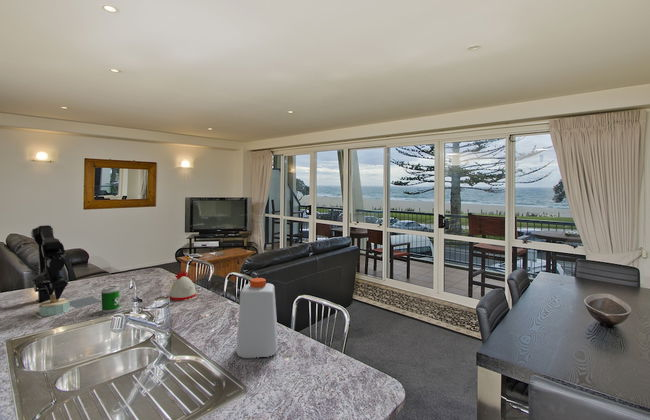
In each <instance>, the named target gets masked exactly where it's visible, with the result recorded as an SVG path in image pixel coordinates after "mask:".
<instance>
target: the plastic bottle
mask: <svg viewBox="0 0 650 420" xmlns="http://www.w3.org/2000/svg"><path fill="white" fill-rule="evenodd" d="M275 288H276V287H275V285H274V284H272V283H269V282H267V280H266V279H265V278H263V277H254V278H251V279H250V280H249V283H247V284H245V285H243V287H242V289H241V292H240V296H239V308H238V309H239V311H238V322H237V323H238V324H237V338H236V339H237V341H236V354H237V356H238V357H239V358H241V357H242V359H260V358H259V357H268V358H270V357H269V356H271V357H273V356H274V355H276V353H277V350H278V345H279V344H278V343H279V337H278V335H279V333H278V322H277V320H278V318H277V306H276V303H277V302H276V291H275V290H276V289H275ZM272 355H273V356H272ZM256 357H257V358H256Z"/></svg>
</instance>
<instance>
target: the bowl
mask: <svg viewBox="0 0 650 420" xmlns="http://www.w3.org/2000/svg"><path fill="white" fill-rule="evenodd" d="M69 301H70V300H69V299H68V302H67V303H65V304H63V305H59V306H54V307H41V303H39V305H38V313H39V314H38V315H39V316H41V317H51V316H52V317H53V316H58V315H61V314H64V313H67V312H68V311H70V308H71V307H70V306H71V305H70V302H69Z"/></svg>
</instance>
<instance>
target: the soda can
mask: <svg viewBox="0 0 650 420" xmlns="http://www.w3.org/2000/svg"><path fill="white" fill-rule="evenodd" d="M100 294H101V301H102V302H101V310H102V312H103V313H105V314H112V313H115V312H117V311H119V309H120V305H121V304H120V288H119V287H118V286H116V285H109V286H105V287H103V289H101V293H100Z"/></svg>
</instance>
